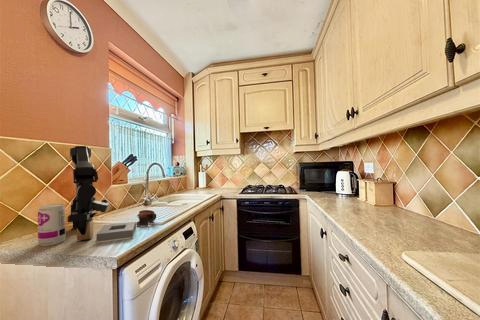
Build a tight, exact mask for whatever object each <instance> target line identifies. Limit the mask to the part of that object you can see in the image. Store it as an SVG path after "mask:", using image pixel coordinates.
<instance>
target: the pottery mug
mask: <svg viewBox="0 0 480 320" xmlns="http://www.w3.org/2000/svg"><path fill="white" fill-rule="evenodd" d="M136 217H137V219H138V221H136V227H140V226H141V227H142V226H143V227H148V226H149V224H154V221H156V219H157V214H156V213H155V211H153V210H148V209H142V210H139V212H138V214H137V216H136Z"/></svg>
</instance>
